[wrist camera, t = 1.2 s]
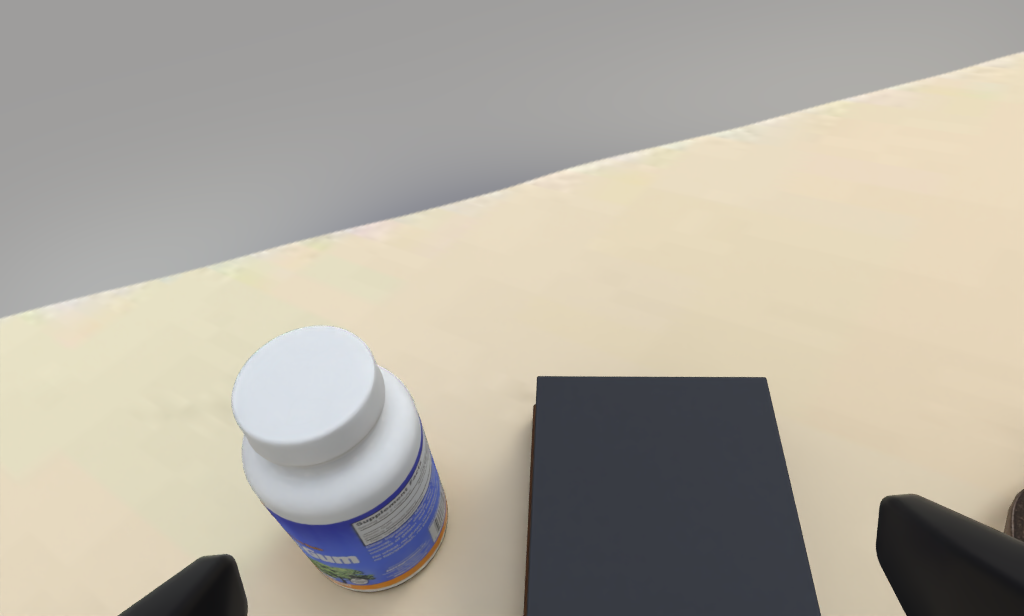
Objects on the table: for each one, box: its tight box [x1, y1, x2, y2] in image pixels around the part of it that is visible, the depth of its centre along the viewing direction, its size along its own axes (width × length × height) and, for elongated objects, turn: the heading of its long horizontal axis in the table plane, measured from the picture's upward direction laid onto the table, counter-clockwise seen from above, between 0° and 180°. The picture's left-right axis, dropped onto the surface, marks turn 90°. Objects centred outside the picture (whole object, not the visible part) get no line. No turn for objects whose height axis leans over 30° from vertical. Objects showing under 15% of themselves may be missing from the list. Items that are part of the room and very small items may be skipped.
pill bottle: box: [232, 326, 448, 592], centre depth 21 cm, size 5×5×10 cm
